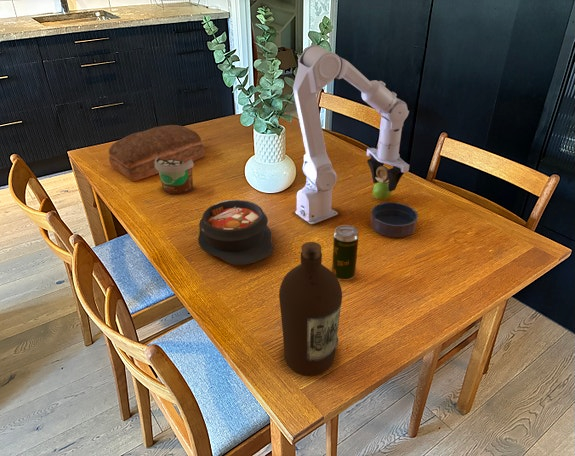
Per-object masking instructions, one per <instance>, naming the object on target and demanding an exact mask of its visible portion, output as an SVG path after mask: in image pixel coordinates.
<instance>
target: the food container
mask: <svg viewBox="0 0 575 456" xmlns="http://www.w3.org/2000/svg"><path fill="white" fill-rule="evenodd" d="M194 166H195V164H194V161H192V159H191V160H190V161H188V162H185V161H179V160H175V159H171V160H163V159H158V156H157V157H156V159H155V169H157V170H158V172H159V173H158V175H159V179H160V182H161V186H162V189H163V192H164V193H165V194H168V195H173V196H176V195H185V194H186V193H189V192H191V191H192V190H193V189H194V181H193V180H194V179H193V176H194V175H193V168H194Z"/></svg>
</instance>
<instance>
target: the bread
mask: <svg viewBox="0 0 575 456" xmlns="http://www.w3.org/2000/svg"><path fill="white" fill-rule="evenodd" d="M205 154H206V151H205V146H204V144H203V143H202V138H201V136H200V135H199V134H198V133H197V132H196V131H195V130H193V129H191V128H188V127H186V126H183V125H177V124H168V125H167V124H166V125H160V126H155V127H152V128H149V129H146V130H143V131H138V132H134V133H131V134H129V135H127V136H125V137H123V138H121V139H118V140H117V141H115V142H114V143H112V144H111V146H110V147H109V149H108V155H109V158H108V159H109V161H108V162H109V165H110V166H111V167H112V168H113V169H114V170H116V171H117V172H119V173H120V174H122V175H124V176H125V177H126V178H127V179H129V180H130V181H132V182H137V181H140V180H142V179H145V178H146V179H147V178H149V177H152V176H155V175H157V174H159V172H158V170H157V169H155V159H156V157H157V156H158V159H163V160H171V159H175V160H179V161H185V162H188V161H190V160H191V159H192V161H193V162H194V161H196V160H199V159H202V158H204V157H205Z"/></svg>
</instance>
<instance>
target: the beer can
mask: <svg viewBox="0 0 575 456" xmlns="http://www.w3.org/2000/svg"><path fill="white" fill-rule="evenodd" d="M332 243H333V245H332V261H331V262H332V263H331V271H332V272H333V273H334V274H335V276H336V277H337V279H338V281H341V282H347V281H350V280H352V279H353V278H354V277H355V275H356V272H357V271H356V269H357V261H358V260H357V259H358V257H357V256H358V247H359V231H358V229H357V228H356V227H355V226H353V225H350V224H341V225H338V226H337V227H336V228H334V232H333V242H332Z"/></svg>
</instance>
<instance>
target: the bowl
mask: <svg viewBox="0 0 575 456" xmlns="http://www.w3.org/2000/svg"><path fill="white" fill-rule="evenodd" d="M418 219H419V215H418V211H416V209H414V208H413V207H411V206H410V205H407V204H404V203H401V202H396V201H395V202H393V201H390V202H381V203H379V204H378V203H377V204H375V206H373V207H372V209H371V211H370V220H369V223H370V227H371V228H372V230H373V231H375V232H376V233H378V234H380V235H382V236H384V237H387V238H392V239H393V238H395V239H398V238H405V237H409V236H411V235H413V234H414V233H415V232H416V230H417V225H418Z"/></svg>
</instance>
